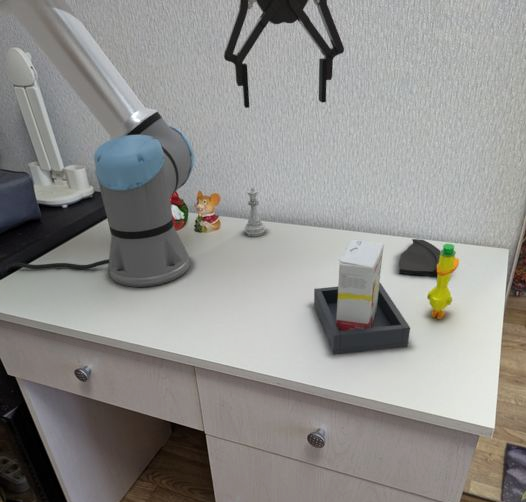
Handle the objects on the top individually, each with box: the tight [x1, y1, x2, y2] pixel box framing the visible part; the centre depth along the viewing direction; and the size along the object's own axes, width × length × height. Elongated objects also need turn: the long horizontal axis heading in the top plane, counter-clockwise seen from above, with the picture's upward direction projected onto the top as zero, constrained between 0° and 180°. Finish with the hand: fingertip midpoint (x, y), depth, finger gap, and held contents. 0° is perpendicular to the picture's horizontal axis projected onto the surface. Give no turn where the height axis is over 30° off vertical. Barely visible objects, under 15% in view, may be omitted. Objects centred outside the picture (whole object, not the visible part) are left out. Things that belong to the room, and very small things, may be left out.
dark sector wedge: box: [398, 238, 441, 277], centre depth 94 cm, size 8×14×2 cm, turn 163°
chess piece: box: [244, 187, 266, 237], centre depth 106 cm, size 4×4×10 cm
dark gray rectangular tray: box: [313, 282, 411, 355], centre depth 76 cm, size 11×14×3 cm
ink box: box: [336, 239, 385, 331], centre depth 72 cm, size 9×5×12 cm, turn 159°
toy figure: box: [426, 243, 460, 320], centre depth 75 cm, size 7×4×12 cm, turn 142°
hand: (284, 104), depth 88 cm, fingers open, 13 cm apart
